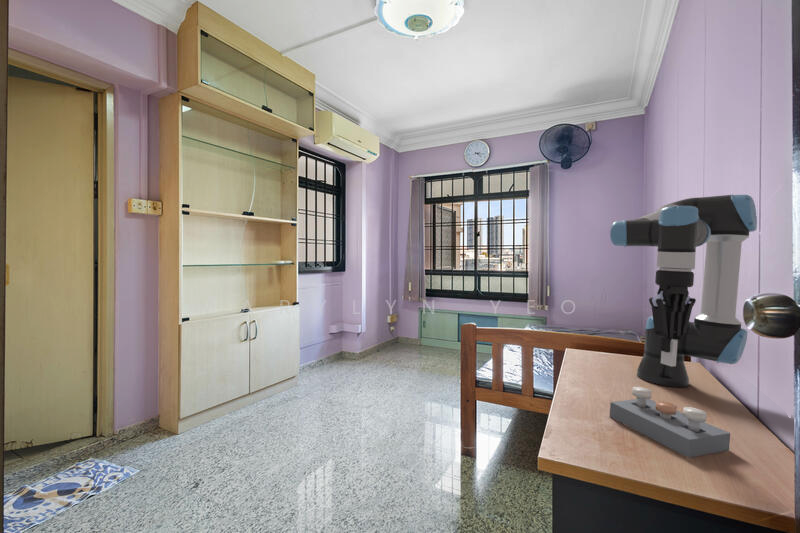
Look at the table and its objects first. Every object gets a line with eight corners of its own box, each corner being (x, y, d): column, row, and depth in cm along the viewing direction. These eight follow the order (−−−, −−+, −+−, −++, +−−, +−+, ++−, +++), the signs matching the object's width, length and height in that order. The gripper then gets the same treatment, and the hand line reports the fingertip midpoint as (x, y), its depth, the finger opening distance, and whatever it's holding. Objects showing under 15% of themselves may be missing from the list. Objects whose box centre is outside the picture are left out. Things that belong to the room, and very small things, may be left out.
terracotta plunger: (662, 420, 93) (664, 400, 92) (679, 428, 89) (681, 407, 88) (650, 422, 91) (651, 401, 91) (667, 430, 87) (668, 408, 87)
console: (645, 412, 102) (646, 398, 101) (728, 450, 82) (730, 433, 82) (609, 416, 98) (610, 402, 97) (688, 457, 79) (689, 439, 78)
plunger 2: (690, 427, 86) (691, 406, 86) (709, 436, 82) (711, 413, 82) (677, 429, 85) (678, 407, 85) (696, 438, 81) (698, 415, 81)
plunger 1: (639, 405, 99) (640, 386, 99) (654, 411, 95) (655, 392, 95) (627, 406, 97) (628, 387, 97) (642, 413, 93) (643, 393, 93)
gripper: (677, 269, 95) (671, 358, 96) (640, 268, 91) (634, 361, 92) (710, 271, 88) (702, 367, 89) (671, 270, 84) (664, 371, 85)
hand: (668, 364), depth 90 cm, fingers closed
